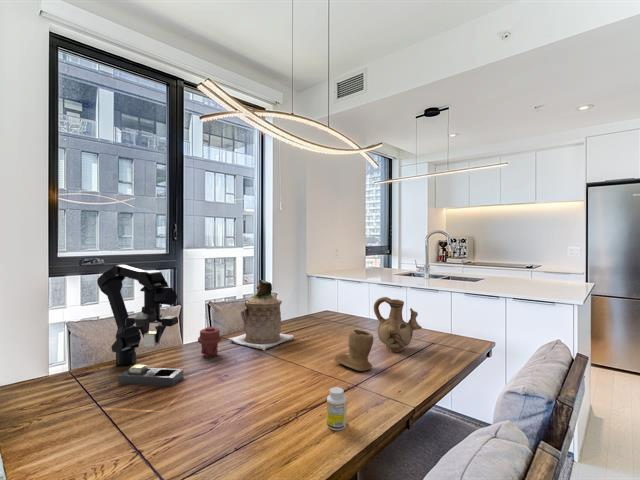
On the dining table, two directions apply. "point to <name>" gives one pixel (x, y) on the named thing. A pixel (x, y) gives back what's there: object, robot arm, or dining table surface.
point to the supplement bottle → (336, 409)
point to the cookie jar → (262, 320)
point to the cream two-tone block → (150, 339)
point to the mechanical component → (209, 341)
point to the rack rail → (152, 377)
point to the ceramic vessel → (395, 325)
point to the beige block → (138, 369)
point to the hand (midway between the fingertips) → (152, 342)
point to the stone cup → (357, 351)
